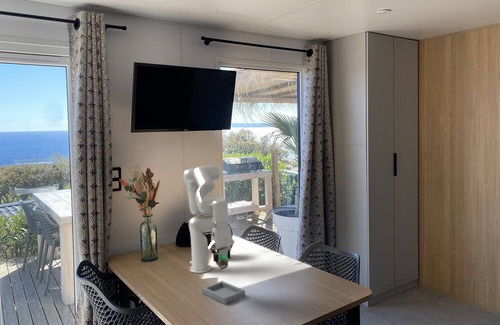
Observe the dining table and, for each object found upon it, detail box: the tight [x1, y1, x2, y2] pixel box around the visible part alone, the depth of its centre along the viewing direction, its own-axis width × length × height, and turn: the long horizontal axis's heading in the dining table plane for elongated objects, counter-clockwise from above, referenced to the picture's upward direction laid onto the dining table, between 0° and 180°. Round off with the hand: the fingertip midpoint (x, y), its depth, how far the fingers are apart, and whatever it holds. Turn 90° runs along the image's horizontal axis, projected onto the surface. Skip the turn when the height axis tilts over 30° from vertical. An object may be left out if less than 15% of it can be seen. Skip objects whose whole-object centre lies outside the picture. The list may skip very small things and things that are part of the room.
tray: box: [201, 280, 246, 306], centre depth 204 cm, size 18×13×3 cm
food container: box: [215, 247, 229, 270], centre depth 202 cm, size 12×6×10 cm, turn 18°
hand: (222, 259), depth 202 cm, fingers closed on food container, 6 cm apart
